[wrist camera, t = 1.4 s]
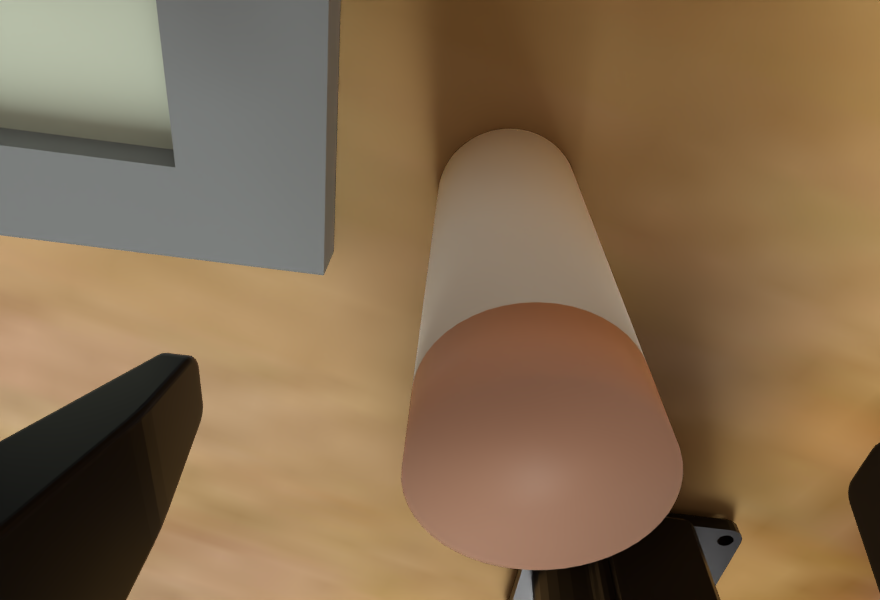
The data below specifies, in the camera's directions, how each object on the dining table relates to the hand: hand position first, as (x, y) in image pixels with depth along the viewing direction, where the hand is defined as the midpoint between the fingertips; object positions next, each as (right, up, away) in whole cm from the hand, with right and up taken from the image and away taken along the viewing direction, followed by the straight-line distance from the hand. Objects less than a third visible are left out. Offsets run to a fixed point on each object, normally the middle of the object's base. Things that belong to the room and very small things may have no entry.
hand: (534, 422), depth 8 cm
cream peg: (0, +4, +6) cm, 7 cm away
